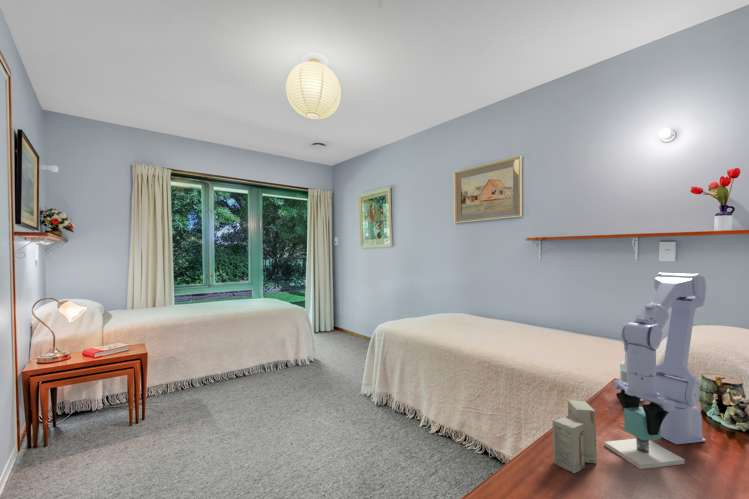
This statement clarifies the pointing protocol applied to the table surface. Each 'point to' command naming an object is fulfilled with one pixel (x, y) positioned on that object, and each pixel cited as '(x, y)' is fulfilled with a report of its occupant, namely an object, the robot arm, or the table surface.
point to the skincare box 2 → (585, 427)
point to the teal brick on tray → (638, 424)
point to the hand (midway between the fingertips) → (642, 428)
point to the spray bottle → (624, 371)
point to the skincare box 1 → (568, 444)
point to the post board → (644, 453)
